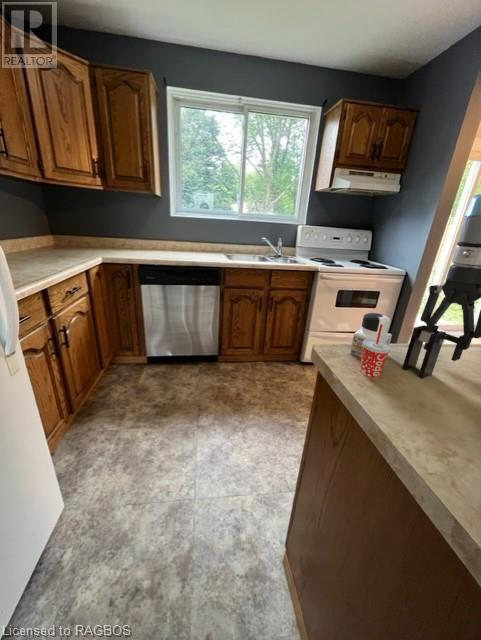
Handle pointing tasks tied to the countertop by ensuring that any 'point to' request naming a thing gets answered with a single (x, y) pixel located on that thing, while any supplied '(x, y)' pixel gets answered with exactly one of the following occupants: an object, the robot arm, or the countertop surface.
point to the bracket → (430, 353)
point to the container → (370, 332)
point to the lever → (427, 334)
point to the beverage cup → (374, 356)
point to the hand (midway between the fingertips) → (441, 353)
